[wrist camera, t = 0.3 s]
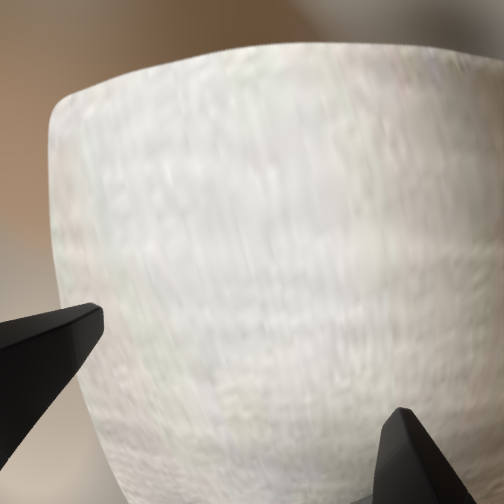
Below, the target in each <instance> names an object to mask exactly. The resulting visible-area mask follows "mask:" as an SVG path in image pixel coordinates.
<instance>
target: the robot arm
mask: <svg viewBox="0 0 504 504" xmlns="http://www.w3.org/2000/svg"><path fill="white" fill-rule="evenodd" d="M103 332H104V315H103V309H102V308H101V307H100V306H98V305H96V304H94V303H86V304H82V305H77V306H73V307H69V308H64V309H60V310H55V311H51V312H46V313H42V314H37V315H33V316H28V317H24V318H19V319H15V320H10V321H5V322H1V323H0V470H1V469H2V468H3V466H4V465H5V464H6V462H7V461H8V458H10V457H11V455H12V454H13V453H14V451H15V450H16V449H17V447H18V446H19V445H20V443H21V442H22V441H23V439H24V438H25V437H26V435H27V434H28V433H29V431H30V430H31V429H32V428H33V426H34V425H35V424H36V422H37V421H38V420H39V419H40V417H41V416H42V415H43V414H44V412H45V411H46V410H47V409H48V407H49V406H50V405H51V403H52V402H53V401H54V400H55V399H56V397H57V396H58V394H60V392H61V391H62V390H63V389H64V387H65V386H66V385H67V384H68V383H69V381H70V380H71V379H72V378H73V377H74V375H75V374H76V373H77V372H78V370H79V369H80V368H81V366H82V365H83V363H84V362H85V360H86V359H87V357H88V356H89V354H90V353H91V351H92V350H93V348H94V347H95V345H96V344H97V342H98V341H99V339H100V338H101V336H102V334H103ZM372 504H477V503H476V502H475V501H474V499H473V498H472V496H471V495H470V493H468V490H467V489H466V487H465V486H464V484H463V483H462V481H461V480H460V478H459V477H458V475H457V474H456V472H455V471H454V470H453V468H452V467H451V465H450V464H449V462H448V461H447V459H446V458H445V457H444V455H443V454H442V452H441V451H440V449H439V448H438V447H437V445H436V444H435V442H434V441H433V439H432V438H431V437H430V435H429V434H428V432H427V431H426V430H425V428H424V427H423V425H422V424H421V423H420V421H419V420H418V418H417V417H416V416H415V414H414V413H413V412H412V410H410V409H408V408H402V407H398V408H397V409H395V411H394V412H393V413H392V414H391V416H390V417H389V418H388V420H387V421H386V422H385V423H384V425H383V427H382V430H381V437H380V444H379V450H378V456H377V462H376V467H375V474H374V485H373V497H372Z"/></svg>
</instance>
